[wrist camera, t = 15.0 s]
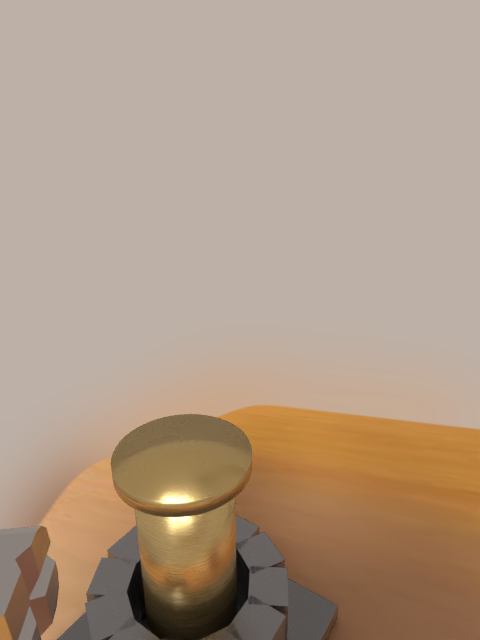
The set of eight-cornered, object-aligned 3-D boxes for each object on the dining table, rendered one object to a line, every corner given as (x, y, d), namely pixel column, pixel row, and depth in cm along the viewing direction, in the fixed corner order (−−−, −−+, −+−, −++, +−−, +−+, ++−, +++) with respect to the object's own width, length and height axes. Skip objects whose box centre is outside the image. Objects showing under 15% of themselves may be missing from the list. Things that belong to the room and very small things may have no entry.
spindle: (209, 564, 29) (202, 401, 25) (275, 643, 24) (280, 458, 20) (115, 624, 25) (89, 444, 21) (172, 731, 21) (152, 527, 17)
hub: (182, 530, 33) (179, 474, 31) (336, 618, 27) (342, 554, 25) (32, 678, 24) (15, 610, 22) (214, 867, 17) (210, 792, 16)
